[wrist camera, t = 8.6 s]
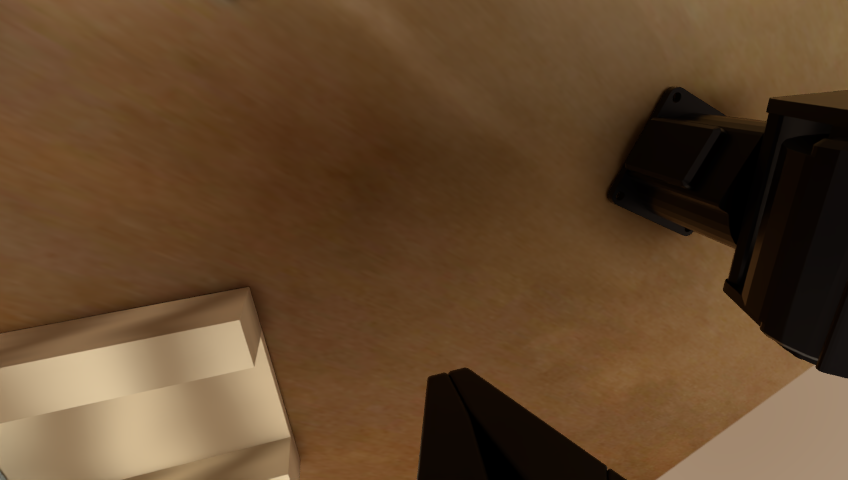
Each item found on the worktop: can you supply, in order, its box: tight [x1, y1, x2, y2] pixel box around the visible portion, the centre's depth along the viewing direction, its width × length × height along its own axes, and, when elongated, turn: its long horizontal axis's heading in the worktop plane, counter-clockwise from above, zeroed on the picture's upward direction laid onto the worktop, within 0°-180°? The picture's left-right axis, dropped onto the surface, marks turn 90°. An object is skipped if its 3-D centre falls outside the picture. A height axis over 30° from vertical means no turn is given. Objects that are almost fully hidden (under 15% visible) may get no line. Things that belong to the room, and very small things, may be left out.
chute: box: [0, 287, 300, 480], centre depth 20 cm, size 19×12×3 cm, turn 96°
